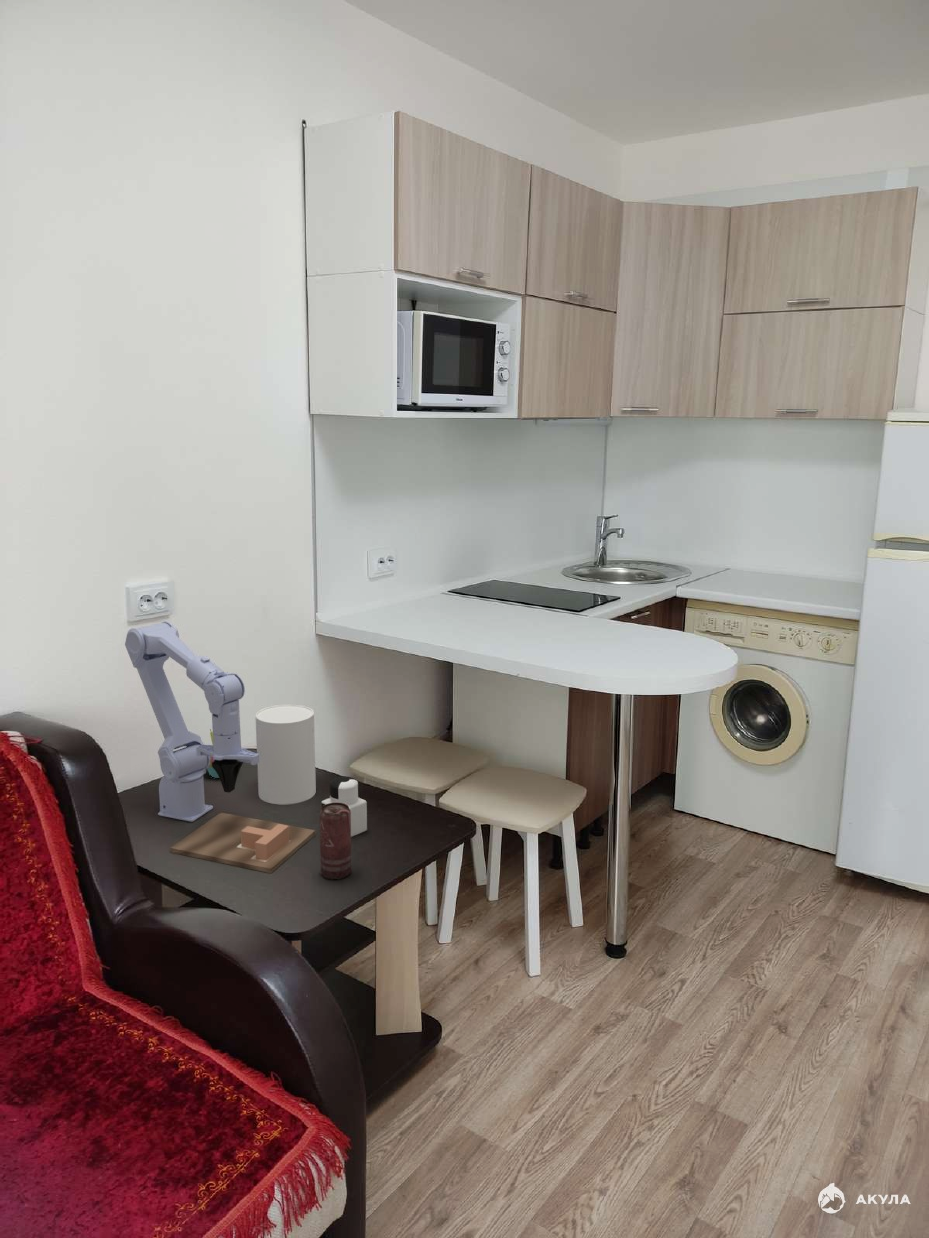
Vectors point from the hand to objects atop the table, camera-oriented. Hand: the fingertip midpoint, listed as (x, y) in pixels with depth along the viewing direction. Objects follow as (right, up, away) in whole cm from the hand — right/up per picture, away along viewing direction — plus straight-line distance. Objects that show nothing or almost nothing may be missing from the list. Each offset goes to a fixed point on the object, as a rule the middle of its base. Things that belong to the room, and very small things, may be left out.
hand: (229, 790), depth 196 cm
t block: (+9, -10, -7) cm, 15 cm away
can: (+25, -14, -15) cm, 32 cm away
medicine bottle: (+25, -10, +3) cm, 26 cm away
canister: (+8, -5, +22) cm, 24 cm away
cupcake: (-10, -2, +32) cm, 33 cm away
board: (+4, -11, -3) cm, 12 cm away
